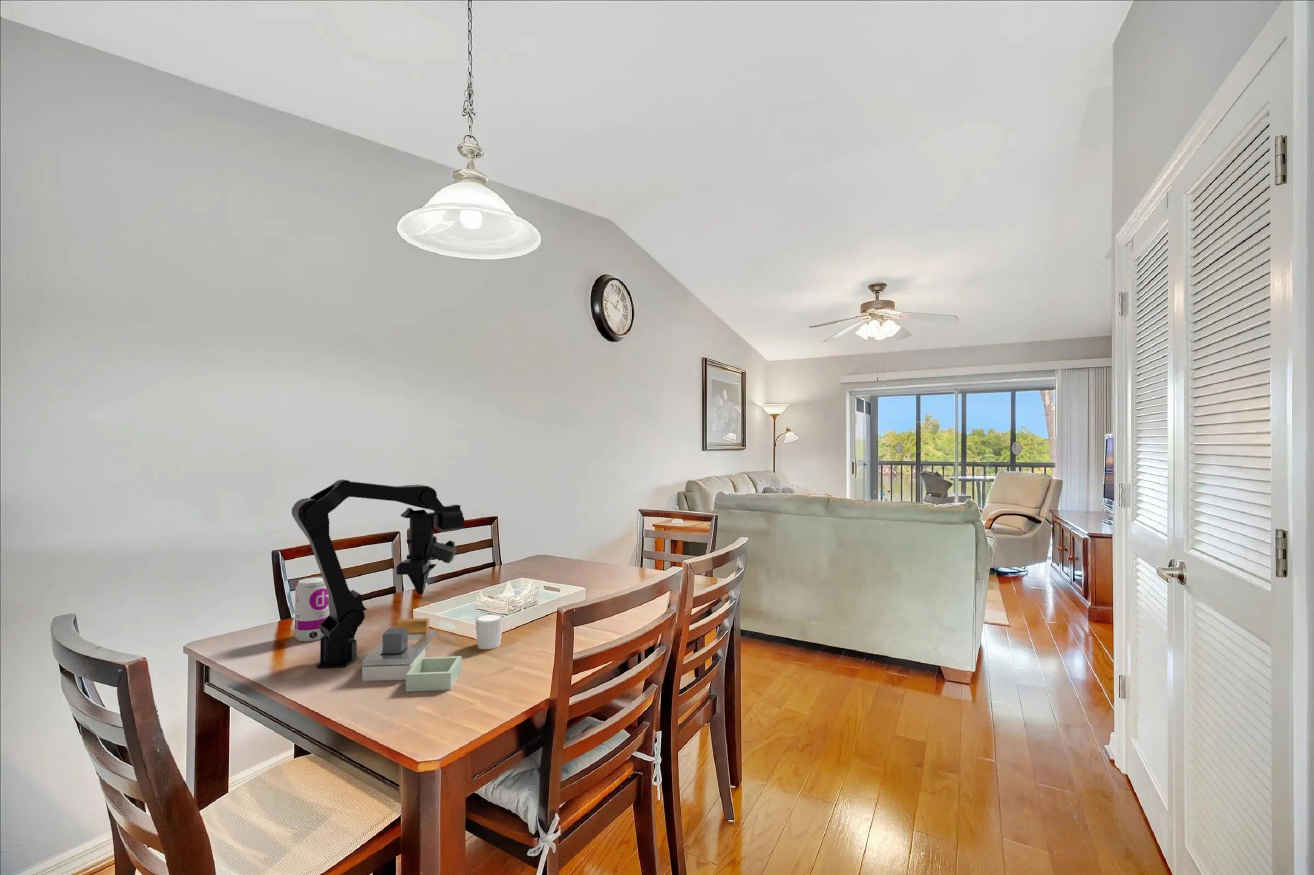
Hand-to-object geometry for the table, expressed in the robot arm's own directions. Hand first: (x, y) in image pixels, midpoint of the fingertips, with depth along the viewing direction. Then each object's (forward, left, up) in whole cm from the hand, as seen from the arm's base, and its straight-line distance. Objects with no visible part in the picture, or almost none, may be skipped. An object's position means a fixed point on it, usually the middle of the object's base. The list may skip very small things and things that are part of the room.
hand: (420, 594), depth 142 cm
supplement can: (-29, +6, -12) cm, 32 cm away
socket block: (0, -18, -12) cm, 22 cm away
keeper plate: (0, -14, -9) cm, 17 cm away
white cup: (+18, -4, -12) cm, 22 cm away
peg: (0, -18, -12) cm, 22 cm away
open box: (+11, -24, -12) cm, 29 cm away
